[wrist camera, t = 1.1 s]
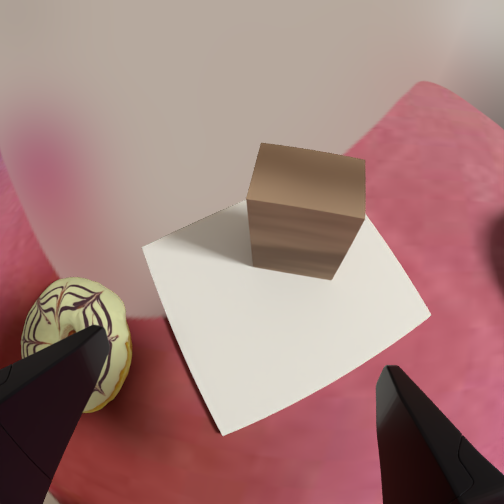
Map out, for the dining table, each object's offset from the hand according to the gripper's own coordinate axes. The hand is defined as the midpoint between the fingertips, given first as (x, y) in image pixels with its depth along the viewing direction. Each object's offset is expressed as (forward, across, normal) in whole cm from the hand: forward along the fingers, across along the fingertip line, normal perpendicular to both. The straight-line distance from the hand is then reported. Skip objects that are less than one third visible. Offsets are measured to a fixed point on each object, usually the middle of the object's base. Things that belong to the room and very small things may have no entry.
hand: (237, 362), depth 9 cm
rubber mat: (+14, -2, +5) cm, 15 cm away
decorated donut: (+8, +14, +11) cm, 19 cm away
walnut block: (+16, -2, +3) cm, 16 cm away
